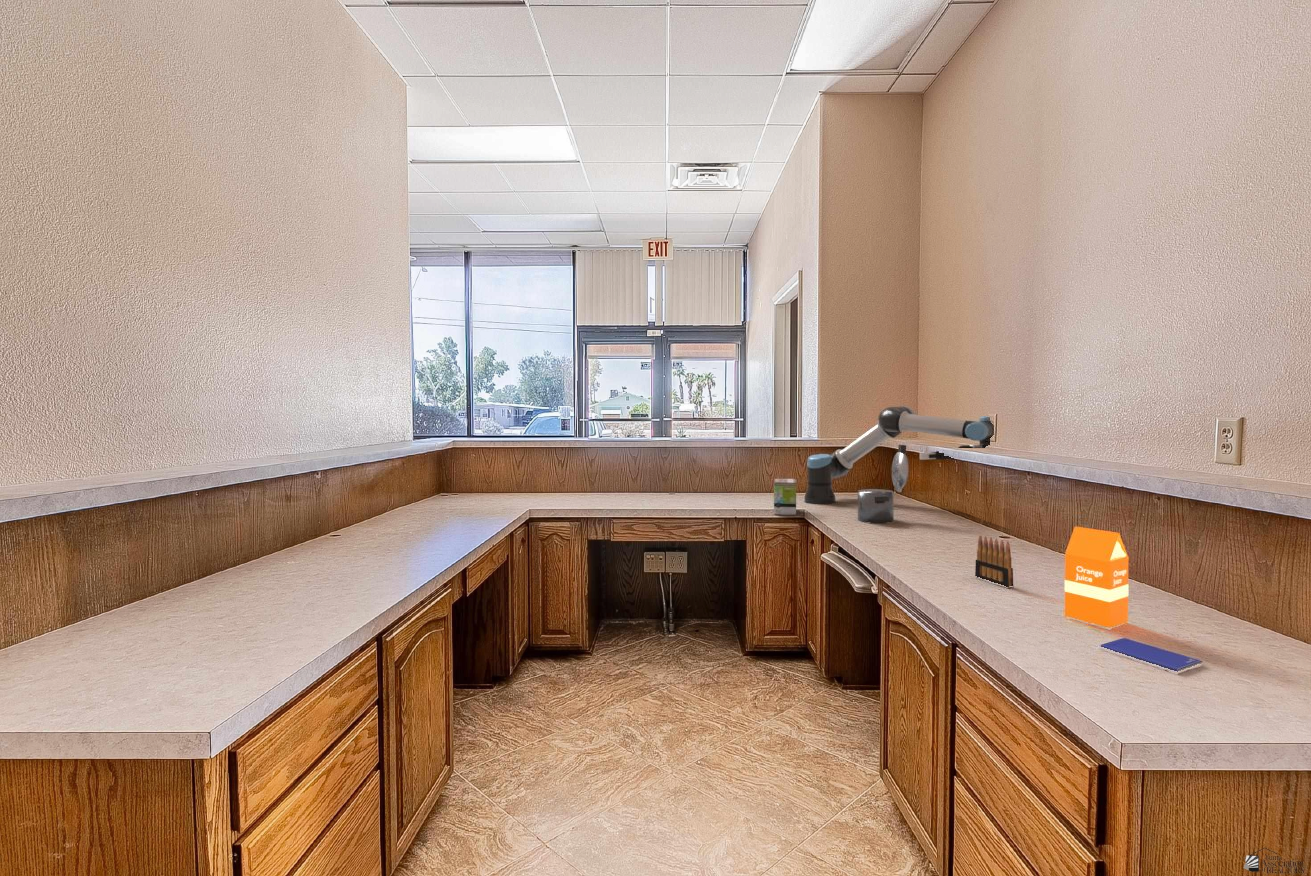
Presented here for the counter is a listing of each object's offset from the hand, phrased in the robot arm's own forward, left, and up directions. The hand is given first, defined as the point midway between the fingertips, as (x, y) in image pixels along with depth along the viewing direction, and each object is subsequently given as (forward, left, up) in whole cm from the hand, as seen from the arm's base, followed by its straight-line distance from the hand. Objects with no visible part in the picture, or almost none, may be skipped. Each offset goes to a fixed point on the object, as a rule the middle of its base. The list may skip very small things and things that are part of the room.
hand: (920, 456), depth 249 cm
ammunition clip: (+92, -17, -26) cm, 97 cm away
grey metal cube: (+2, -19, -26) cm, 32 cm away
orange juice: (+121, -10, -26) cm, 124 cm away
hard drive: (+140, -13, -27) cm, 143 cm away
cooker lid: (+2, -10, -5) cm, 11 cm away
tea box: (-21, -53, -26) cm, 63 cm away
